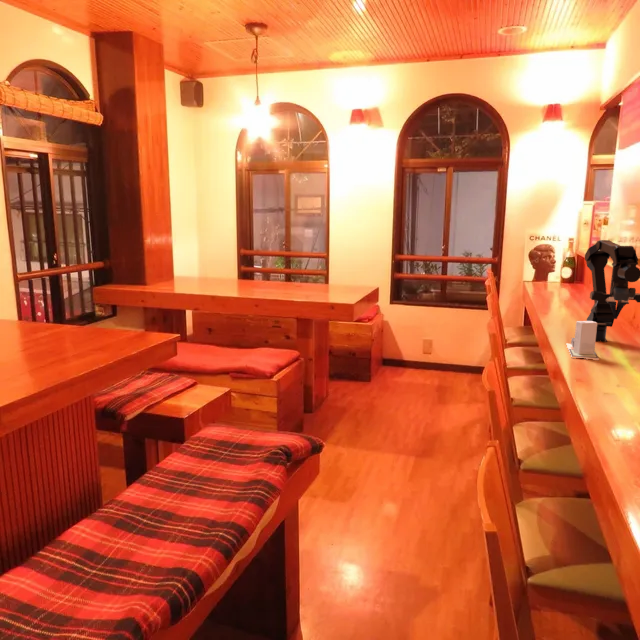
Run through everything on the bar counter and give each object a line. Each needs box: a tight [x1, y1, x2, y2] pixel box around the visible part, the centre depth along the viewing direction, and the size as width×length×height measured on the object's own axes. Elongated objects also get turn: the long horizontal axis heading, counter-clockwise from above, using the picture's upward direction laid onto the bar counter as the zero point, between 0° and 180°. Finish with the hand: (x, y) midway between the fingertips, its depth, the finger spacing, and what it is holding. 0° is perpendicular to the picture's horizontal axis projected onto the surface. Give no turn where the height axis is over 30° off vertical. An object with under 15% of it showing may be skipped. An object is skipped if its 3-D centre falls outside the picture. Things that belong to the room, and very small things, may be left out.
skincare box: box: [574, 320, 597, 354], centre depth 202 cm, size 6×4×12 cm
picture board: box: [565, 337, 600, 361], centre depth 207 cm, size 20×9×3 cm, turn 162°
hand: (615, 318), depth 211 cm, fingers closed
